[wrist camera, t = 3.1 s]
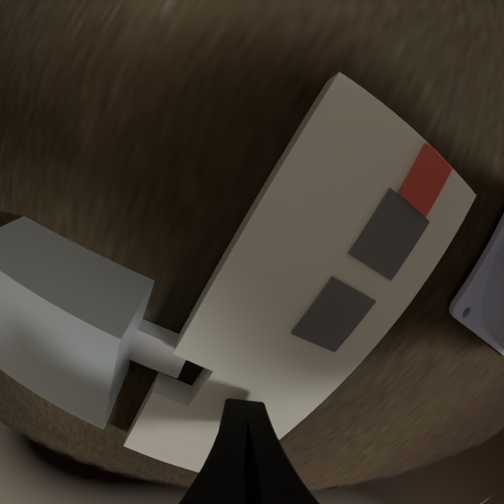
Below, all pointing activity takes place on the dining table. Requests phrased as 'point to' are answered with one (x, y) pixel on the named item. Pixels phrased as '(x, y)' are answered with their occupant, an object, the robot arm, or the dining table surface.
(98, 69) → the dining table surface
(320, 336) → the power strip
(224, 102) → the dining table surface
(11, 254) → the charger
